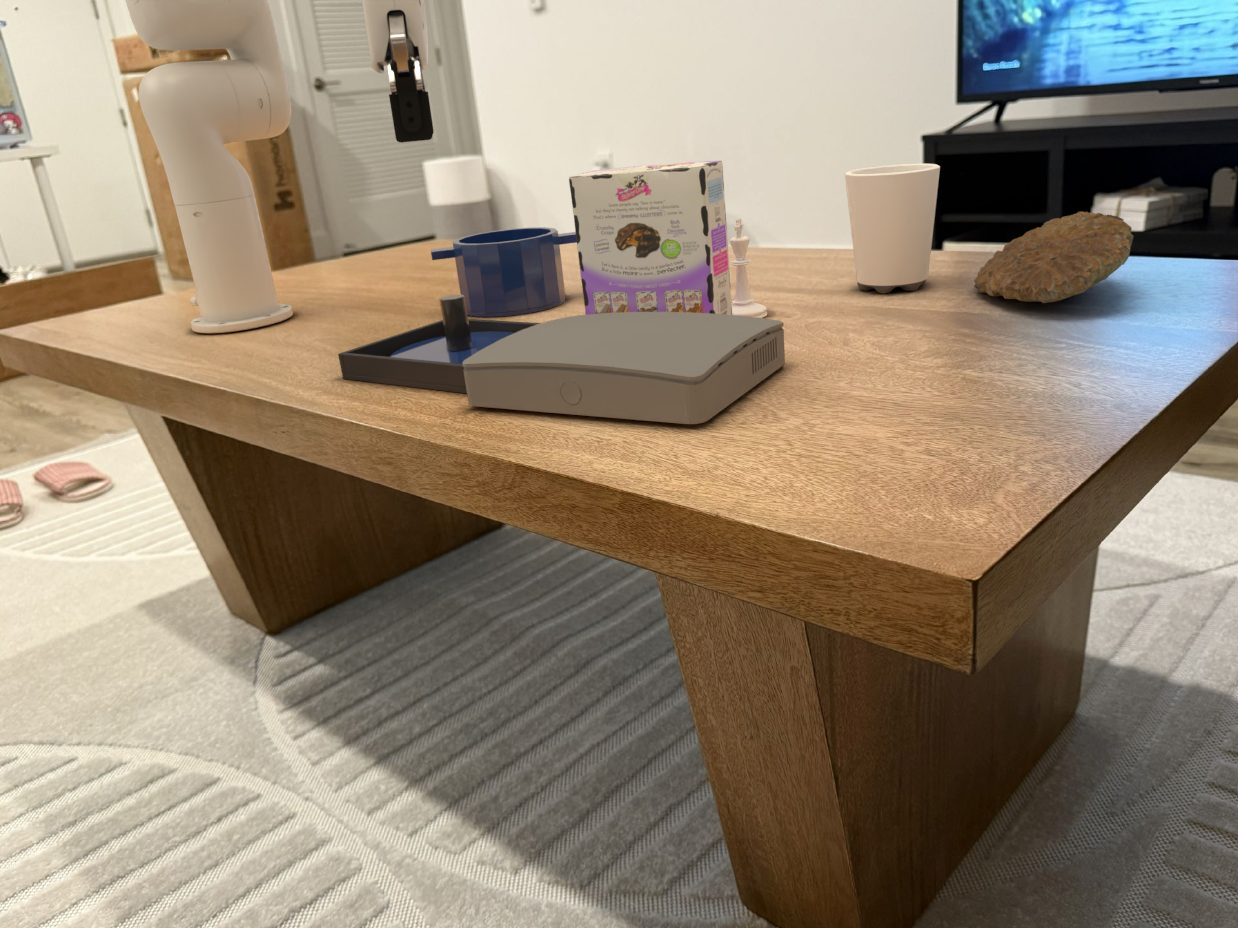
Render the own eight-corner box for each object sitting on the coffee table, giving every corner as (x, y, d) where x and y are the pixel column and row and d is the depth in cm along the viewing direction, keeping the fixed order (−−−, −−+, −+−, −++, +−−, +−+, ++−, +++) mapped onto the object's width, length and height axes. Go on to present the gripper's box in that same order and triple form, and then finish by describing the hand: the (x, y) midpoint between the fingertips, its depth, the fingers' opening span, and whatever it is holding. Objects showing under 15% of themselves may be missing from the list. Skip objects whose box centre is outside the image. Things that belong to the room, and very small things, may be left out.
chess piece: (714, 321, 102) (708, 224, 99) (727, 311, 107) (722, 216, 103) (760, 321, 100) (755, 221, 97) (772, 310, 105) (768, 214, 101)
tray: (342, 378, 95) (337, 353, 94) (452, 340, 106) (449, 317, 106) (472, 394, 85) (468, 366, 84) (578, 350, 97) (575, 325, 96)
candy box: (735, 330, 98) (725, 158, 92) (715, 345, 93) (703, 164, 87) (610, 329, 104) (593, 167, 98) (585, 343, 99) (566, 174, 93)
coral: (990, 260, 109) (1105, 162, 99) (1045, 323, 108) (1167, 230, 98) (925, 298, 96) (1051, 189, 85) (988, 371, 94) (1123, 268, 84)
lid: (394, 353, 101) (383, 294, 99) (525, 335, 103) (517, 277, 101) (387, 387, 88) (375, 320, 86) (537, 366, 90) (529, 300, 88)
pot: (441, 305, 126) (430, 238, 123) (579, 287, 129) (572, 221, 126) (441, 325, 115) (429, 251, 112) (593, 305, 117) (585, 232, 114)
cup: (950, 291, 105) (952, 167, 100) (857, 300, 105) (855, 177, 101) (924, 275, 114) (925, 161, 110) (839, 283, 115) (836, 170, 110)
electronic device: (585, 350, 96) (579, 299, 95) (796, 360, 86) (794, 303, 84) (463, 409, 81) (453, 350, 79) (701, 430, 70) (696, 362, 69)
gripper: (349, -52, 93) (380, 139, 99) (330, -83, 77) (368, 147, 83) (430, -57, 94) (455, 132, 100) (427, -89, 78) (458, 138, 84)
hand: (416, 138), depth 91 cm, fingers open, 9 cm apart
